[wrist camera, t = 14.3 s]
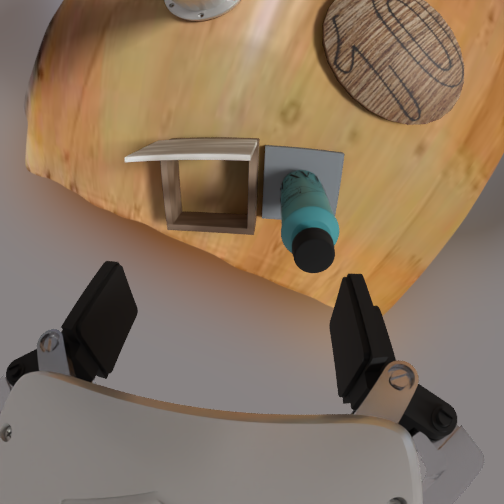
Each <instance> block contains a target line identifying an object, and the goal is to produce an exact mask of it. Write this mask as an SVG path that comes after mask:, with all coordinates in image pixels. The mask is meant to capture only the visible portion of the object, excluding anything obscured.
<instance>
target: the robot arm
mask: <svg viewBox="0 0 504 504" xmlns="http://www.w3.org/2000/svg"><path fill="white" fill-rule="evenodd" d="M240 1H241V0H235V1H233V0H164V2H165V5H166V7H167V8H168V10H169V11H170V12H172V13H173V14H174V15H176V16H177V17H180V18H182V19H185V20H189V21H205V20H210V19H214V18H216V17H219V16H221V15H223V14H225V13H227V12H229V11H230V10H232V9H233V8H234V7H235V6H236V5H237V4H238V3H239V2H240ZM202 15H204V16H203V17H201V16H202ZM137 312H138V310H137V306H136V303H135V301H134V298H133V295H132V293H131V290H130V287H129V284H128V282H127V279H126V276H125V273H124V270H123V267H122V266H121V265H120V264H119V263H118V262H112V261H106V262H105V263H104V264H103V265H102V267H101V268H100V269H99V271H98V272H97V273H96V275H95V276H94V278H93V279H92V280H91V282H90V283H89V285H88V286H87V288H86V289H85V291H84V292H83V294H82V295H81V297H80V298H79V300H78V301H77V303H76V304H75V306H74V307H73V309H72V311H71V312H70V314H69V315H68V317H67V318H66V320H65V322H64V323H63V325H62V329H63V330H62V332H60V331H59V330H57V329H51V330H48V331H46V332H45V333H43V334H42V335H41V337H40V338H39V340H38V343H37V349H36V350H34V351H32V352H30V353H28V354H26V355H24V356H22V357H20V358H18V359H16V360H14V361H13V362H12V363H11V364H10V365H9V367H8V368H7V372H6V377H5V376H2V377H1V378H0V504H453V503H454V502H455V501H456V500H457V499H458V498H459V496H460V495H461V494H462V493H463V492H464V491H465V490H466V488H467V487H468V486H469V485H470V484H471V482H472V481H473V480H474V479H475V477H476V476H477V475H478V474H479V472H480V471H481V469H482V467H483V465H484V455H483V453H482V451H481V450H480V449H479V447H478V446H477V445H476V444H475V442H474V441H473V439H472V438H471V437H470V436H469V434H468V433H467V432H466V430H465V429H464V428H463V427H462V426H460V427H459V426H458V425H457V415H456V412H455V410H454V408H453V407H451V405H449V404H448V403H446V402H445V401H443V400H442V399H440V398H439V397H437V396H436V395H434V394H433V393H431V392H429V391H428V390H427V389H425V388H424V387H422V386H421V385H419V384H418V382H419V377H418V374H417V371H416V369H415V368H414V367H413V366H412V365H411V364H409V363H407V362H405V361H399V360H398V361H396V360H395V356H394V352H393V349H392V345H391V342H390V339H389V336H388V332H387V329H386V326H385V323H384V320H383V317H382V314H381V311H380V309H379V307H378V306H373V303H372V300H371V297H370V294H369V291H368V289H367V286H366V283H365V280H364V277H363V275H362V274H348V275H347V277H343V279H342V282H341V286H340V289H339V293H338V297H337V300H336V303H335V307H334V310H333V314H332V317H331V320H330V334H331V341H332V348H333V355H334V362H335V370H336V378H337V387H338V395H339V397H343V403H351V408H352V409H353V411H352V413H351V414H337V415H335V414H334V415H333V414H332V415H331V414H327V415H280V414H256V413H242V412H230V411H222V410H212V409H205V408H198V407H192V406H185V405H180V404H174V403H169V402H163V401H158V400H154V399H149V398H145V397H141V396H136V395H133V394H129V393H125V392H121V391H118V390H114V389H110V388H107V387H104V386H101V385H97V384H96V382H95V379H94V378H95V376H96V375H97V376H99V377H102V378H105V379H106V378H107V377H108V374H109V373H111V372H112V370H113V368H114V366H115V363H116V361H117V359H118V356H119V354H120V352H121V349H122V347H123V344H124V342H125V340H126V338H127V335H128V333H129V331H130V329H131V326H132V325H133V322H134V320H135V318H136V316H137ZM417 451H418V453H419V454H420V455H421V456H422V458H421V460H422V462H423V463H424V465H425V467H426V475H425V478H424V479H423V481H421V472H420V465H419V460H418V455H417Z"/></svg>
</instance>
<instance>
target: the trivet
mask: <svg viewBox="0 0 504 504" xmlns="http://www.w3.org/2000/svg"><path fill="white" fill-rule="evenodd" d="M323 46H324V50H325V53H326V57H327V61H328V63H329V65H330V67H331V69H332V71H333V72H334V74H335V76H336V78H337V80H338V81H339V83H340V84H341V85H342V86H343V87H344V88H345V90H346V91H347V92H348V93H349V94H350V96H351V97H352V98H353V99H355V100H356V101H357V102H359V103H360V104H361V105H362V106H364V107H365V108H366V109H367V110H369V111H371V112H373V113H375V114H377V115H379V116H381V117H383V118H385V119H387V120H390V121H395V122H399V123H403V124H407V125H413V124H427V123H430V122H432V121H435V120H438V119H440V118H441V117H443V116H444V115H445V114H446V113H448V112H449V111H450V110H451V109H452V108H453V106H454V105H455V103H456V102H457V100H458V99H459V97H460V93H461V90H462V86H463V83H464V63H463V58H462V54H461V50H460V47H459V44H458V42H457V40H456V38H455V36H454V34H453V31H452V30H451V28H450V27H449V26H448V24H447V23H446V22H445V20H444V19H443V18H442V16H441V15H440V14H439V13H438V12H437V11H436V10H435V9H434V8H433V7H431V6H430V5H429V4H428V3H427V2H426V1H424V0H335V1H334V2H333V3H332V5H331V6H330V7H329V9H328V11H327V14H326V17H325V20H324V23H323Z"/></svg>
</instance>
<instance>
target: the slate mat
mask: <svg viewBox="0 0 504 504" xmlns="http://www.w3.org/2000/svg"><path fill="white" fill-rule="evenodd" d="M343 161H344V153H342V152H334V151H326V150H318V149H308V148H298V147H286V146H272V145H266V146H265V167H264V188H263V208H262V218H266V219H281V215H280V214H281V206H280V205H281V203H280V198H281V197H280V196H281V194H280V193H281V190H280V188H281V185H282V182H283V178H285V177H286V176H287V174H290V172H292V171H293V172H294V171H297V170H300V169H303V170H306V171H308V170H309V172H312V173H314V174H315V175H316V176H318V179H319V180H320V182H321V184H323V186H322V187H323V189H324V188H325V190H324V191H325V193H326V196H327V198H328V200H329V204H330V206H331V209H332V211H333V214H334V216H335V213H336V207H337V201H338V195H339V189H340V182H341V175H342V168H343ZM281 220H282V219H281Z"/></svg>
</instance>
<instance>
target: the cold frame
mask: <svg viewBox="0 0 504 504" xmlns="http://www.w3.org/2000/svg"><path fill="white" fill-rule="evenodd" d="M158 160H160V163H161V175H162V186H163V195H164V204H165V213H166V221H167V229H168V230H182V231H200V232H216V233H233V234H248V235H254V231H255V225H256V212H257V187H258V161H259V138H217V137H216V138H174V139H170V140H160V141H157V142H155V143H153V144H150V145H148V146H146V147H144V148H142V149H140V150H138V151H136V152H134V153H132V154H130V155H128V156H126V157H125V162H137V161H158ZM178 160H243V161H249V185H248V215H244V214H226V213H205V212H182V205H181V193H180V180H179V165H178Z"/></svg>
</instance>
